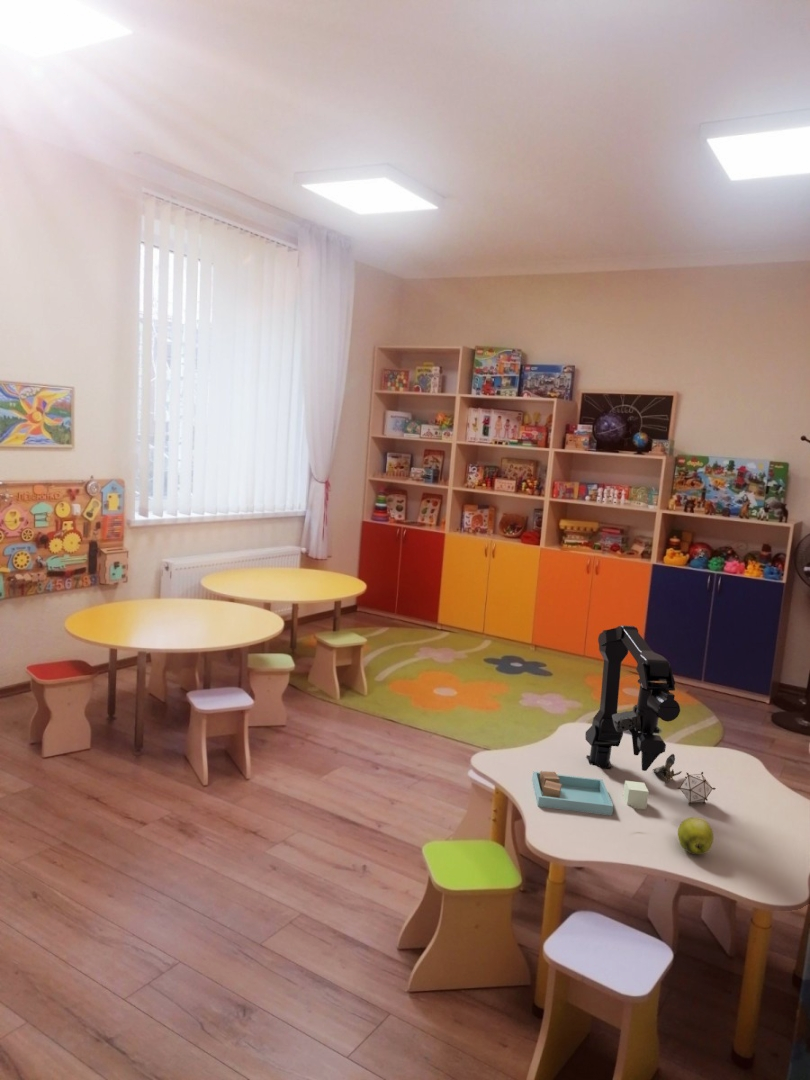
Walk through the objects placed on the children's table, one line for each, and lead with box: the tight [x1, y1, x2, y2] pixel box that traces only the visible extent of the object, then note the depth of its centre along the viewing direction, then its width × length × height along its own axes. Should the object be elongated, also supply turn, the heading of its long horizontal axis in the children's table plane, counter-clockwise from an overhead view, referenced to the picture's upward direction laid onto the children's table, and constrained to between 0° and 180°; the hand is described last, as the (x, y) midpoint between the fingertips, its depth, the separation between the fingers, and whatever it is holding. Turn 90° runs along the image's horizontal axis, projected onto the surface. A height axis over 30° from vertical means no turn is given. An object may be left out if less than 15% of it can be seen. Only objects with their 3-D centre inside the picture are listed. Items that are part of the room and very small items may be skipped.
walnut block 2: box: [543, 780, 562, 798], centre depth 201 cm, size 4×4×4 cm
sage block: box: [622, 780, 650, 810], centre depth 204 cm, size 5×5×5 cm
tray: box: [531, 771, 614, 816], centre depth 203 cm, size 15×19×3 cm
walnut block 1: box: [539, 770, 559, 792], centre depth 206 cm, size 4×4×4 cm
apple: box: [677, 816, 714, 855], centre depth 183 cm, size 8×9×8 cm
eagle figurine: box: [652, 753, 683, 784], centre depth 222 cm, size 8×7×9 cm
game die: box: [676, 771, 716, 806], centre depth 208 cm, size 9×8×10 cm
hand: (639, 762), depth 203 cm, fingers open, 9 cm apart
